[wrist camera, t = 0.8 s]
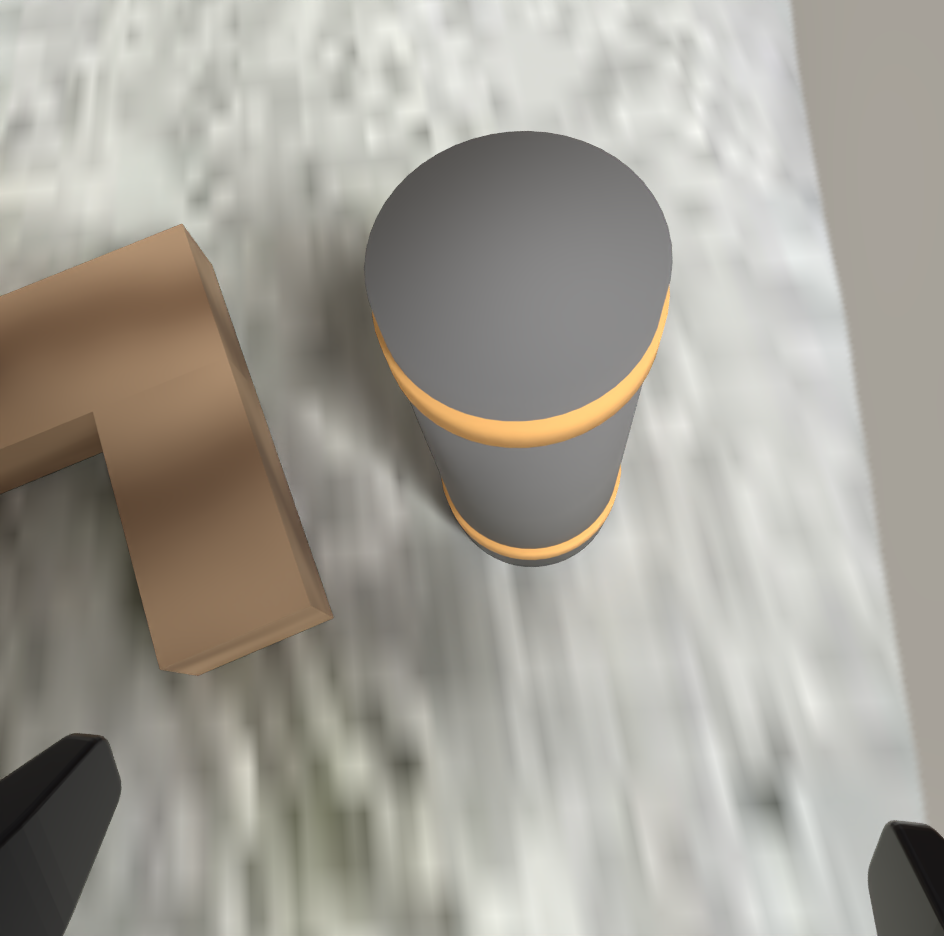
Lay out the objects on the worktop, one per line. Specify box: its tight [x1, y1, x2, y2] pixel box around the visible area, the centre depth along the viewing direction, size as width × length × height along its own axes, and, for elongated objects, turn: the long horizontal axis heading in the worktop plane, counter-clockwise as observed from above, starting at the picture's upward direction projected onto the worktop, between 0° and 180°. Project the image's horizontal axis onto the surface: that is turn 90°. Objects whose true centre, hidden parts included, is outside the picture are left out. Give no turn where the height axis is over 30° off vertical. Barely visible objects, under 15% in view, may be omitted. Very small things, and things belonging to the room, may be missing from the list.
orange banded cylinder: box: [364, 131, 672, 567], centre depth 19 cm, size 5×5×13 cm
